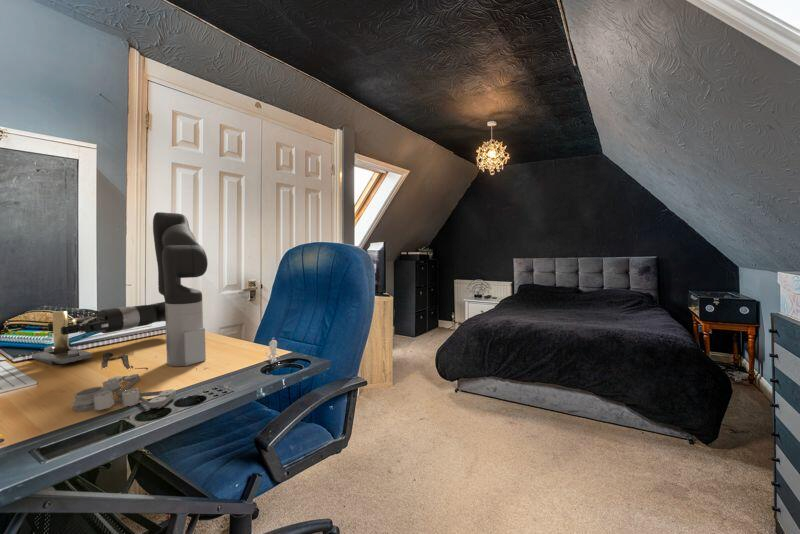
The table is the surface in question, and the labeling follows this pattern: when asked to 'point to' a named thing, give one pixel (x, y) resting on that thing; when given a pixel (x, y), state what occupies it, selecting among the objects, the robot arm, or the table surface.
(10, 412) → the table surface
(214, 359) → the table surface
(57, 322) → the pin
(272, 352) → the toy figurine
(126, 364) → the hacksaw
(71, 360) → the grey base plate
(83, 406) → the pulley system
